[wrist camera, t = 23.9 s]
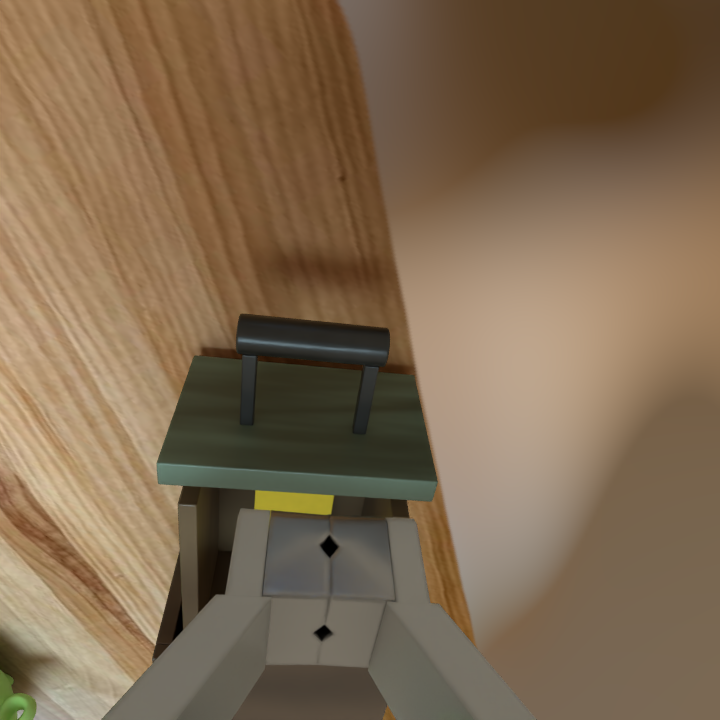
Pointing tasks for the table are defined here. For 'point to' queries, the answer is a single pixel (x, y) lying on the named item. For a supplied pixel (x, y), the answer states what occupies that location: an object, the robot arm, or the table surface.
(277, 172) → the table surface
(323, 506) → the sponge
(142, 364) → the table surface
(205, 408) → the drawer
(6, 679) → the teapot
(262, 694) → the cabinet
